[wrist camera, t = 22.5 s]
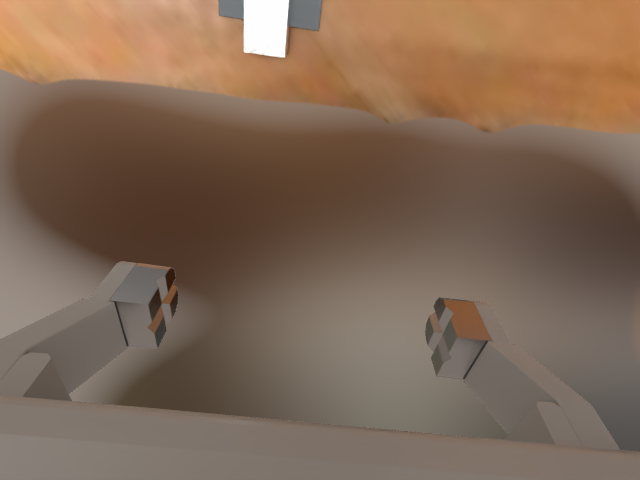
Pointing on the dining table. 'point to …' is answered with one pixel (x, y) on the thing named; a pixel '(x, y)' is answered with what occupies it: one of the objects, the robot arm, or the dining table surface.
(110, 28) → the dining table surface
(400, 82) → the dining table surface
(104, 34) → the dining table surface
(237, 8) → the mat
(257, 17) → the grey bar
